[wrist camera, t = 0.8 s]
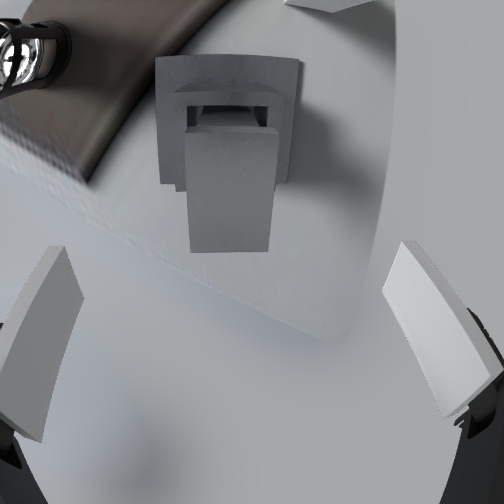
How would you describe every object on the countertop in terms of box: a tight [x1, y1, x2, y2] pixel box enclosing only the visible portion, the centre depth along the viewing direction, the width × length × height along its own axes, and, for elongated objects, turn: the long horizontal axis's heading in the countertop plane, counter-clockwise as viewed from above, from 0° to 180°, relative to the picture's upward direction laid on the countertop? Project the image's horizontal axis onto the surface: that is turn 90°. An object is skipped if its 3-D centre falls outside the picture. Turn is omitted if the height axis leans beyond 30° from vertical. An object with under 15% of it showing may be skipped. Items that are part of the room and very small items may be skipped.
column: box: [184, 105, 279, 253], centre depth 23 cm, size 7×4×20 cm, turn 177°
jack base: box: [155, 54, 299, 192], centre depth 28 cm, size 16×16×12 cm
